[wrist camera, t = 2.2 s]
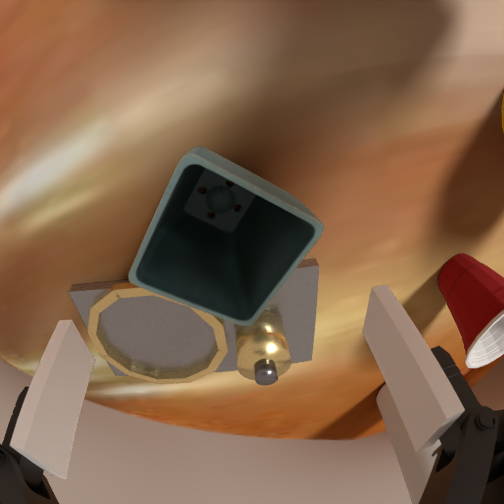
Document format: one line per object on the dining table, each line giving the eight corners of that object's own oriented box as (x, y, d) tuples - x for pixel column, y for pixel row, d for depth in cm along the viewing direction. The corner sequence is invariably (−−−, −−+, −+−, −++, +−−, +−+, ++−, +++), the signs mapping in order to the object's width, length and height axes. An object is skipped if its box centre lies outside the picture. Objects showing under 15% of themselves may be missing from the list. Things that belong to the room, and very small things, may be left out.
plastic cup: (404, 290, 32) (455, 366, 22) (462, 219, 28) (531, 281, 18) (443, 315, 36) (484, 378, 26) (491, 258, 31) (544, 313, 21)
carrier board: (70, 281, 27) (41, 333, 21) (315, 254, 28) (342, 309, 22) (118, 370, 35) (107, 419, 29) (309, 355, 36) (323, 407, 29)
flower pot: (295, 178, 24) (329, 227, 17) (241, 259, 28) (249, 330, 20) (199, 125, 21) (185, 149, 14) (152, 218, 25) (125, 281, 17)
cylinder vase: (437, 349, 40) (501, 474, 19) (435, 382, 46) (482, 485, 25) (370, 384, 42) (418, 521, 21) (378, 410, 48) (416, 520, 27)
